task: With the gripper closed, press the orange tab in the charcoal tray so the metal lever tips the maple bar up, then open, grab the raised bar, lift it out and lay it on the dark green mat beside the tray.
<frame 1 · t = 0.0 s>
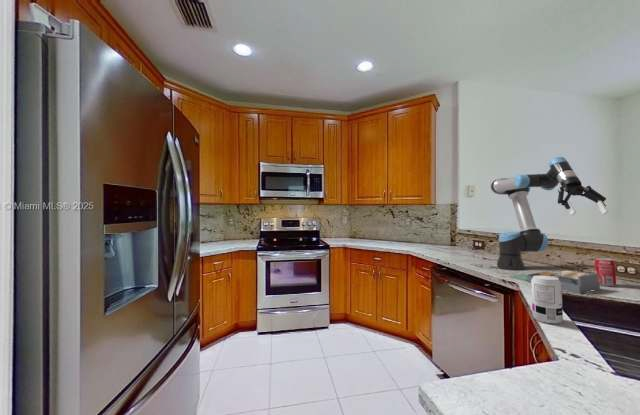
hand: (589, 213, 134), 36 cm above the countertop, tool tilted 35°, fingers open, 13 cm apart
red toy chair: (605, 285, 137), on the countertop
maple bar: (573, 277, 134), point 5 cm above the countertop, touching lever
supplement can: (547, 320, 97), on the countertop
charcoal tray: (561, 285, 139), on the countertop
green mat: (524, 277, 156), on the countertop
lever: (563, 275, 138), point 5 cm above the countertop, hinge at 0.0°, touching maple bar
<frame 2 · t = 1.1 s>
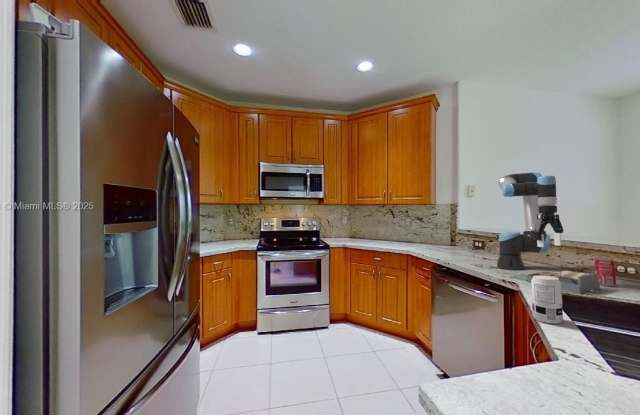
hand: (549, 246, 144), 19 cm above the countertop, tool pointing down, fingers open, 13 cm apart
nothing on the countertop moved.
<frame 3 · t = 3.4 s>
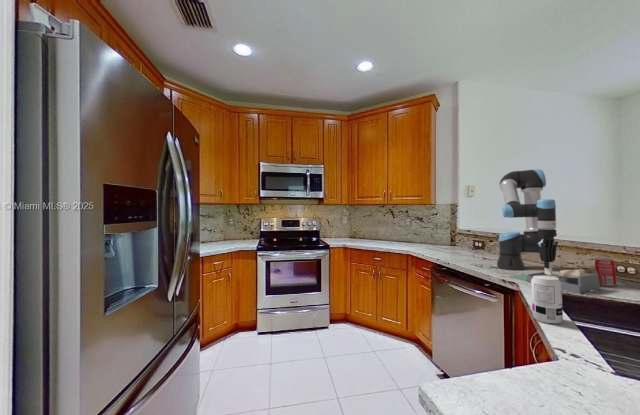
hand: (548, 274, 144), 5 cm above the countertop, tool pointing down, fingers closed
maple bar: (573, 275, 134), point 6 cm above the countertop, tilted 12°, touching lever
lever: (562, 275, 138), point 5 cm above the countertop, hinge at 12.1°, touching gripper, maple bar
everything else where it was.
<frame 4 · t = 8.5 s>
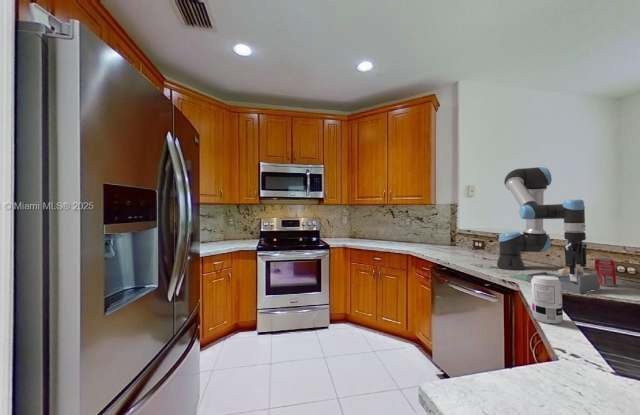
hand: (576, 280, 133), 4 cm above the countertop, tool pointing down, fingers closed on maple bar, 4 cm apart
maple bar: (571, 272, 135), point 8 cm above the countertop, tilted 28°, touching gripper
lever: (562, 274, 139), point 5 cm above the countertop, hinge at 28.4°
everything else where it was.
when the fingers open (2 cm above the countertop, at t = 14.2 s): maple bar drops 5 cm, resting on green mat.
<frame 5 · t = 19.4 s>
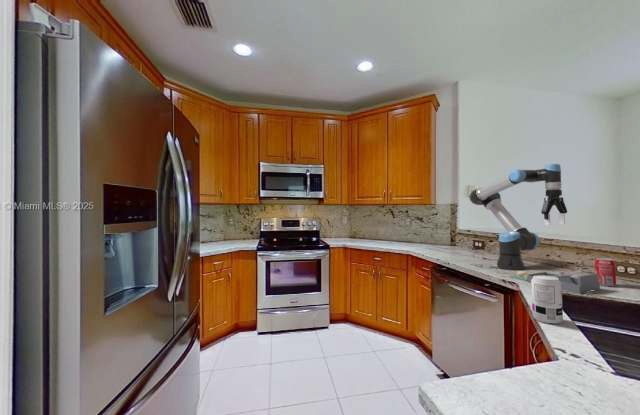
hand: (554, 224, 168), 29 cm above the countertop, tool pointing down, fingers open, 13 cm apart
maple bar: (526, 277, 155), point 1 cm above the countertop, touching green mat
everything else where it was.
at the end: maple bar inside the target area (1.7 cm from its centre), point 0.6 cm above the countertop; maple bar tilted 0°; the gripper is holding nothing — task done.
